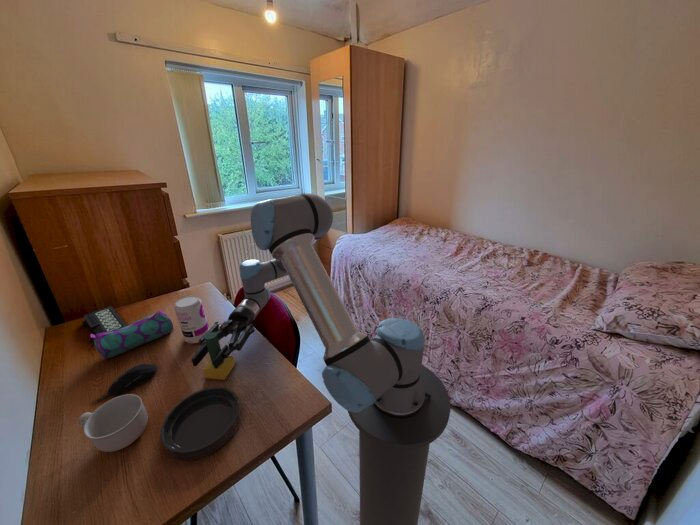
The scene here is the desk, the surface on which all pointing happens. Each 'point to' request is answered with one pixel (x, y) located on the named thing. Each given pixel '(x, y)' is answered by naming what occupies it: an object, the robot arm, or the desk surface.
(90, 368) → the desk surface
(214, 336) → the green peg on stand
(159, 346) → the desk surface
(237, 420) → the bowl
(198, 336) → the supplement can
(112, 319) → the digital display
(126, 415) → the teacup
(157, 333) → the pencil case
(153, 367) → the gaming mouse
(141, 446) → the desk surface
